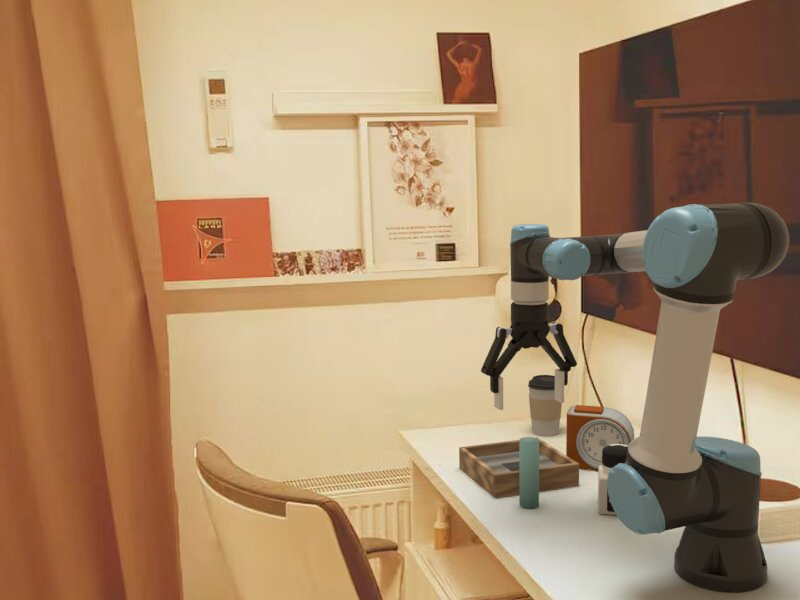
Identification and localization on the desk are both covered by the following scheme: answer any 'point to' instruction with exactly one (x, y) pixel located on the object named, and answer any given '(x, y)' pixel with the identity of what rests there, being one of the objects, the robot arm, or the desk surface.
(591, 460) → the alarm clock
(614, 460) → the container
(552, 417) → the coffee cup
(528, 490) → the peg
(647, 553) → the desk surface
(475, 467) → the socket box
